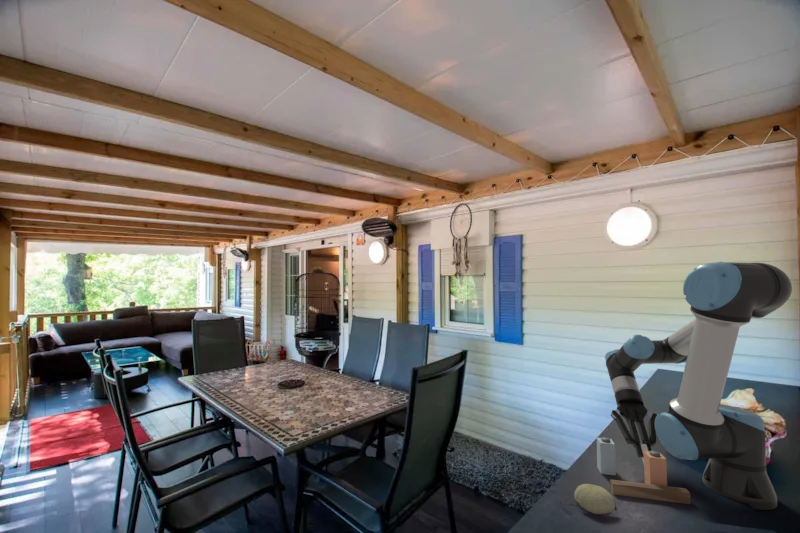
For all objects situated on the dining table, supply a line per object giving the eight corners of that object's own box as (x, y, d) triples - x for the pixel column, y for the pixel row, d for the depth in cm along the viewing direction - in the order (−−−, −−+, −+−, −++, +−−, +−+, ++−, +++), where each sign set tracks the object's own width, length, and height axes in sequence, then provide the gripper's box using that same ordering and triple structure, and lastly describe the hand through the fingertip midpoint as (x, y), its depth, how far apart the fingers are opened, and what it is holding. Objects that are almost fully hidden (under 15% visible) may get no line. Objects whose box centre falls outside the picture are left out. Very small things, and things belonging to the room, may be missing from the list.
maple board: (596, 469, 114) (596, 456, 114) (662, 477, 110) (662, 463, 110) (612, 499, 99) (612, 483, 99) (690, 509, 94) (690, 493, 94)
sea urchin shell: (575, 484, 103) (597, 470, 99) (598, 512, 99) (622, 499, 95) (566, 498, 96) (590, 484, 92) (590, 530, 92) (616, 516, 88)
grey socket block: (597, 467, 113) (596, 435, 114) (611, 468, 112) (610, 436, 113) (601, 473, 109) (600, 440, 110) (615, 475, 108) (615, 442, 109)
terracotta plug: (644, 483, 104) (643, 448, 105) (660, 485, 103) (659, 450, 104) (650, 491, 100) (649, 455, 101) (667, 493, 99) (666, 456, 100)
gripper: (646, 400, 123) (671, 477, 106) (603, 397, 126) (621, 471, 109) (652, 388, 118) (679, 467, 101) (607, 386, 121) (626, 461, 104)
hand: (649, 469), depth 105 cm, fingers closed
